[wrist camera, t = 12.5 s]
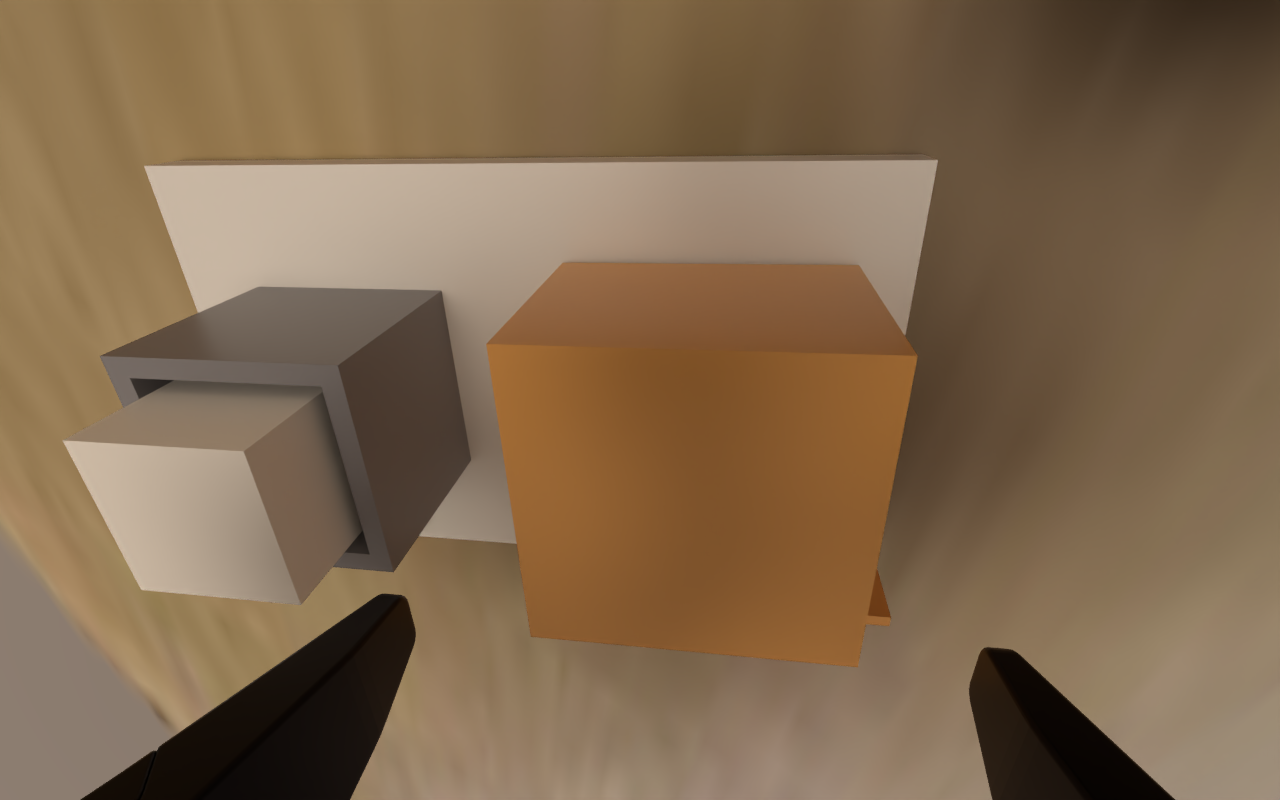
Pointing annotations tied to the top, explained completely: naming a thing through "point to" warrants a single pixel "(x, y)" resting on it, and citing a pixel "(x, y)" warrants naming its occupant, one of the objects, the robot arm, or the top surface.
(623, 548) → the cap
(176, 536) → the block
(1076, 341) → the top surface
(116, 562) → the top surface
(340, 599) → the top surface
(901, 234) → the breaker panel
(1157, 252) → the top surface
